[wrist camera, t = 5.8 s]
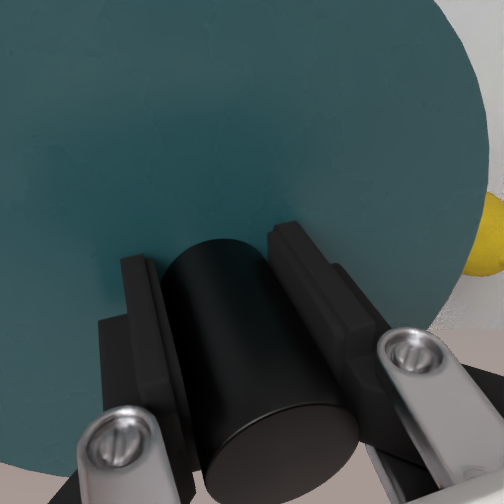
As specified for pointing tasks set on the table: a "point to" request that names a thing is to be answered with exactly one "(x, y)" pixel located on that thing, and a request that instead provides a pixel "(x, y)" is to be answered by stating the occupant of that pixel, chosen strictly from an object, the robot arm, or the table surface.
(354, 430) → the pot lid
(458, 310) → the table surface
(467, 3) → the table surface
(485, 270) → the lemon
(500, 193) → the table surface
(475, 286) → the table surface
